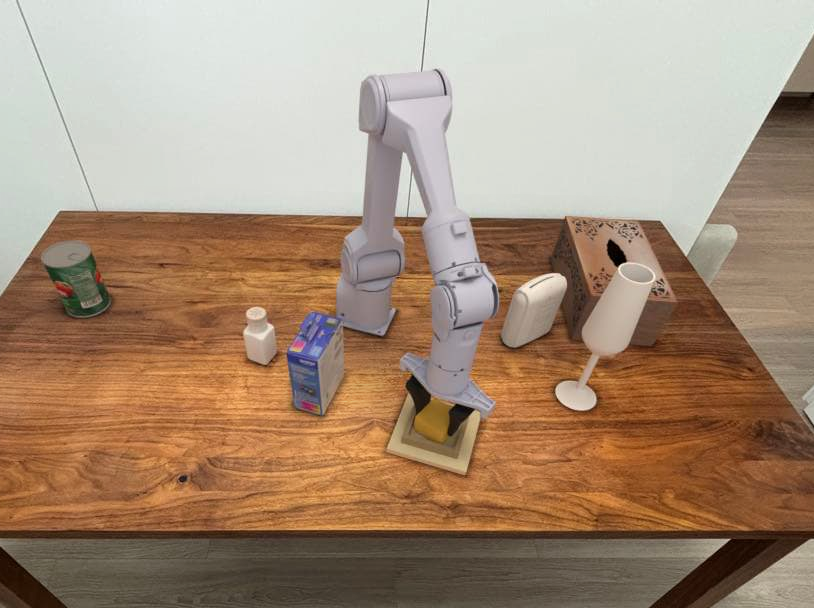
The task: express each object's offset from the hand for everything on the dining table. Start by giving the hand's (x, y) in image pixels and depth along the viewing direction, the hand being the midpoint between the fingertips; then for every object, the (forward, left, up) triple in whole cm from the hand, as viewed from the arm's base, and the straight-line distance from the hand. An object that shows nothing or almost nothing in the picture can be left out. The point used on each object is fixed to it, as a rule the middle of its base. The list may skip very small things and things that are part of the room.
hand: (437, 422), depth 80 cm
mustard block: (0, 0, -1) cm, 1 cm away
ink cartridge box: (-20, +2, -3) cm, 20 cm away
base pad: (0, 0, -3) cm, 3 cm away
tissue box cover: (+22, +44, -3) cm, 49 cm away
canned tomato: (-68, +7, -3) cm, 68 cm away
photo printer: (+10, +28, -3) cm, 30 cm away
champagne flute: (+20, +16, -3) cm, 26 cm away
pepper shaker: (-32, +6, -3) cm, 33 cm away
